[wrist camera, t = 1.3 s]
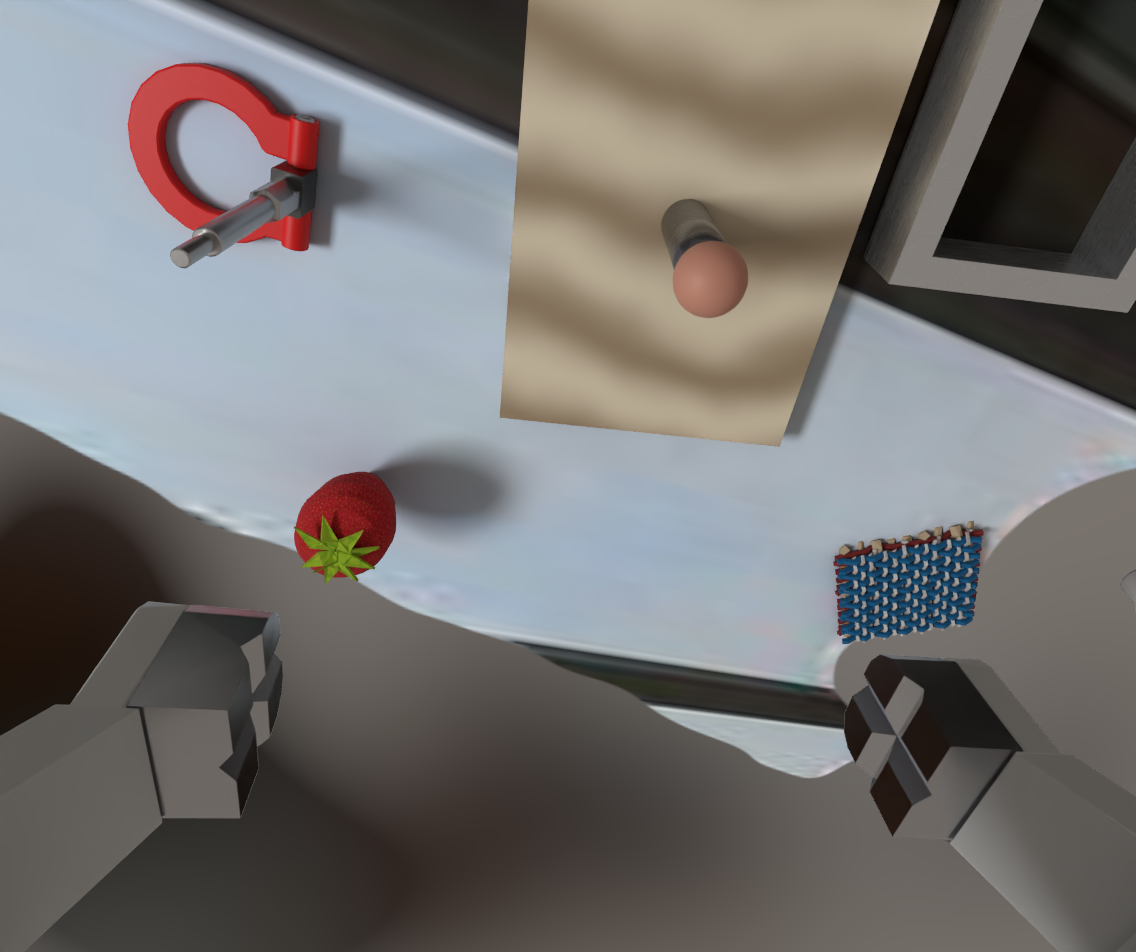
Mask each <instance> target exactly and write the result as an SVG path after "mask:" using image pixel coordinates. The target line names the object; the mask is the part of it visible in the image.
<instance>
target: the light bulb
mask: <svg viewBox="0 0 1136 952" xmlns="http://www.w3.org/2000/svg"><path fill="white" fill-rule="evenodd" d="M1120 585H1121V589H1122V591H1123V592H1124V593H1125V594H1126V595H1127V596H1128V597H1129V599H1130V600H1131V601H1132V602H1133V603H1134V609H1135V611H1136V570H1134V571H1132V572H1131V573H1129V574H1128V575H1127V576H1126V577H1124V578H1123V580H1122V582H1121V584H1120Z"/></svg>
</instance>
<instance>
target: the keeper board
mask: <svg viewBox="0 0 1136 952" xmlns="http://www.w3.org/2000/svg"><path fill="white" fill-rule="evenodd" d="M939 2H940V0H529V3H528V18H527V32H526V47H525V61H524V76H523V90H522V105H521V119H520V133H519V148H518V162H517V177H516V191H515V206H514V220H513V235H512V249H511V263H510V278H509V292H508V307H507V321H506V336H505V350H504V365H503V379H502V393H501V408H500V418H510V419H519V420H529V421H539V422H548V423H558V424H567V425H577V426H586V427H596V428H606V429H615V430H625V431H634V432H644V433H654V434H663V435H673V436H682V437H692V438H701V439H711V440H721V441H730V442H740V443H749V444H759V445H768V446H778V447H779V446H780V444H781V441H782V438H783V435H784V433H785V430H786V427H787V424H788V421H789V419H790V416H791V413H792V410H793V408H794V405H795V402H796V399H797V396H798V394H799V391H800V388H801V385H802V383H803V380H804V377H805V374H806V371H807V369H808V366H809V363H810V360H811V358H812V355H813V352H814V349H815V346H816V344H817V341H818V338H819V335H820V333H821V330H822V327H823V324H824V321H825V319H826V316H827V313H828V310H829V308H830V305H831V302H832V299H833V296H834V294H835V291H836V288H837V285H838V283H839V280H840V277H841V274H842V271H843V269H844V266H845V263H846V260H847V258H848V255H849V252H850V249H851V246H852V244H853V241H854V238H855V235H856V233H857V230H858V227H859V224H860V222H861V219H862V216H863V213H864V210H865V208H866V205H867V202H868V199H869V197H870V194H871V191H872V188H873V185H874V183H875V180H876V177H877V174H878V172H879V169H880V166H881V163H882V160H883V158H884V155H885V152H886V149H887V147H888V144H889V141H890V138H891V135H892V133H893V130H894V127H895V124H896V122H897V119H898V116H899V113H900V110H901V108H902V105H903V102H904V99H905V97H906V94H907V91H908V88H909V85H910V83H911V80H912V77H913V74H914V72H915V69H916V66H917V63H918V60H919V58H920V55H921V52H922V49H923V47H924V44H925V41H926V38H927V35H928V33H929V30H930V27H931V24H932V22H933V19H934V16H935V13H936V10H937V8H938V5H939Z"/></svg>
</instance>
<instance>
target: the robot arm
mask: <svg viewBox="0 0 1136 952" xmlns="http://www.w3.org/2000/svg"><path fill="white" fill-rule="evenodd" d="M280 636H281V634H280V624H279V616H278V615H277V614H276V613H274V612H265V611H254V610H244V609H233V608H222V607H210V606H200V605H191V606H189V605H179V604H169V603H159V602H147V603H145V604H144V605H142V606H141V607H139V608H138V609H137V610H136V611H135V612H134V614H133V615H132V617H131V618H130V620H129V621H128V623H127V624H126V625H125V627H124V628H123V630H122V631H121V632H120V634H119V635H118V637H117V638H116V640H115V641H114V643H113V644H112V645H111V647H110V648H109V650H108V651H107V652H106V654H105V655H104V657H103V658H102V660H101V661H100V662H99V664H98V665H97V667H96V668H95V670H94V671H93V672H92V674H91V675H90V677H89V678H88V680H87V681H86V683H85V684H84V685H83V687H82V689H81V690H80V691H79V693H78V694H77V695H76V697H75V698H74V700H73V701H72V703H71V704H70V705H54V706H52V707H50V708H48V709H47V710H45V711H43V712H42V713H40V714H38V715H36V716H35V717H33V718H31V719H29V720H28V721H26V722H24V723H22V724H21V725H19V726H17V727H15V728H14V729H12V730H10V731H8V732H7V733H5V734H3V735H1V736H0V952H24V951H25V950H26V949H27V948H28V947H29V946H30V945H31V944H33V943H34V942H35V941H36V940H37V939H38V938H39V937H40V936H41V935H42V934H43V933H44V932H45V931H46V930H48V929H49V927H51V926H52V925H53V924H54V923H55V922H56V921H57V920H58V919H59V918H60V917H61V916H62V915H64V914H65V912H67V911H68V910H69V909H70V908H71V907H72V906H73V905H74V904H75V903H76V902H77V901H79V900H80V899H81V898H82V897H83V896H84V895H85V894H86V893H87V892H88V891H89V890H90V889H91V888H93V887H94V886H95V885H96V884H97V883H98V882H99V881H100V880H101V879H102V878H103V877H104V876H105V875H106V874H107V873H109V872H110V871H111V870H112V869H113V868H114V867H115V866H116V865H117V864H118V863H119V862H120V861H121V860H123V859H124V858H125V857H126V856H127V855H128V854H129V853H130V852H131V851H132V850H133V849H134V848H135V847H137V846H138V845H139V844H140V843H141V842H142V841H143V840H144V839H145V838H146V837H147V836H148V835H149V834H151V832H152V831H154V830H155V829H156V828H157V827H158V826H159V825H160V824H161V823H162V818H241V815H242V812H243V809H244V807H245V804H246V801H247V799H248V796H249V793H250V791H251V788H252V785H253V782H254V779H255V777H256V774H257V771H258V769H259V767H258V753H257V747H258V746H259V745H260V744H262V743H263V742H264V741H265V740H267V739H268V738H269V737H270V735H271V732H272V729H273V726H274V723H275V720H276V717H277V713H278V708H279V704H280V699H281V694H282V682H283V669H282V668H283V667H282V661H281V660H280V659H279V658H278V657H277V656H276V655H275V654H274V651H275V649H276V646H277V644H278V641H279V638H280ZM864 676H865V678H866V681H867V684H868V686H867V687H865V688H864V689H862V690H861V691H859V692H858V693H856V694H855V695H854V696H852V698H851V700H850V703H849V705H848V707H847V709H846V711H845V721H844V734H845V738H846V742H847V746H848V749H849V751H850V753H851V755H852V757H853V759H854V761H855V763H856V764H857V765H858V766H859V767H860V768H862V769H863V770H864V771H865V772H866V773H867V774H869V775H870V776H871V777H872V778H873V779H872V784H871V788H870V793H871V795H872V797H873V799H874V801H875V803H876V805H877V807H878V809H879V811H880V813H881V815H882V817H883V819H884V821H885V823H886V825H887V827H888V829H889V831H890V833H891V835H892V837H902V838H904V837H905V838H919V839H937V840H952V842H951V843H950V844H951V845H952V846H953V847H954V848H955V849H956V850H957V851H958V852H959V853H960V854H961V855H962V856H963V857H964V858H965V859H966V860H967V861H968V862H969V863H970V864H971V865H972V866H974V868H975V869H976V870H977V871H978V872H980V874H981V875H983V877H984V878H986V879H987V880H988V881H989V882H990V883H991V884H992V885H993V886H994V887H995V888H996V889H997V890H998V891H999V892H1000V893H1001V894H1002V895H1003V896H1004V897H1005V898H1006V899H1007V900H1008V901H1009V902H1010V903H1011V904H1012V905H1013V906H1014V907H1015V908H1016V909H1017V910H1018V911H1019V912H1020V913H1021V914H1022V915H1023V916H1024V917H1025V918H1026V919H1027V920H1028V921H1029V922H1030V923H1031V924H1032V925H1033V926H1034V927H1035V928H1036V929H1037V930H1038V931H1039V932H1040V933H1041V934H1042V935H1043V936H1044V937H1045V938H1046V939H1047V940H1048V941H1049V942H1050V943H1051V944H1052V945H1053V946H1054V947H1055V948H1056V949H1057V950H1058V951H1059V952H1136V797H1135V796H1134V795H1133V794H1131V793H1130V792H1128V791H1127V790H1125V789H1123V788H1122V787H1120V786H1119V785H1117V784H1116V783H1114V782H1113V781H1111V780H1110V779H1108V778H1107V777H1105V776H1104V775H1102V774H1101V773H1099V772H1098V771H1096V770H1094V769H1093V768H1091V767H1090V766H1088V765H1087V764H1085V763H1084V762H1082V761H1081V760H1079V759H1078V758H1076V757H1075V756H1073V755H1068V754H1061V753H1060V751H1059V750H1058V749H1057V748H1056V746H1055V745H1054V744H1053V743H1052V741H1051V740H1050V739H1049V738H1048V736H1047V735H1046V734H1045V733H1044V732H1043V730H1042V729H1041V728H1040V727H1039V725H1038V724H1037V723H1036V722H1035V721H1034V719H1033V718H1032V717H1031V716H1030V714H1029V713H1028V712H1027V711H1026V710H1025V708H1024V707H1023V706H1022V705H1021V703H1020V702H1019V701H1018V700H1017V698H1016V697H1015V696H1014V695H1013V694H1012V692H1011V691H1010V690H1009V689H1008V687H1007V686H1006V685H1005V684H1004V683H1003V681H1002V680H1001V679H1000V678H999V676H998V675H997V674H996V673H995V671H994V670H993V669H992V668H991V667H990V666H988V665H987V664H985V663H984V662H982V661H980V660H974V659H955V658H945V659H942V658H931V657H915V656H899V655H882V654H881V655H878V656H877V657H876V658H874V659H873V660H871V662H870V663H869V665H868V667H867V669H866V671H865V673H864Z"/></svg>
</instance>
